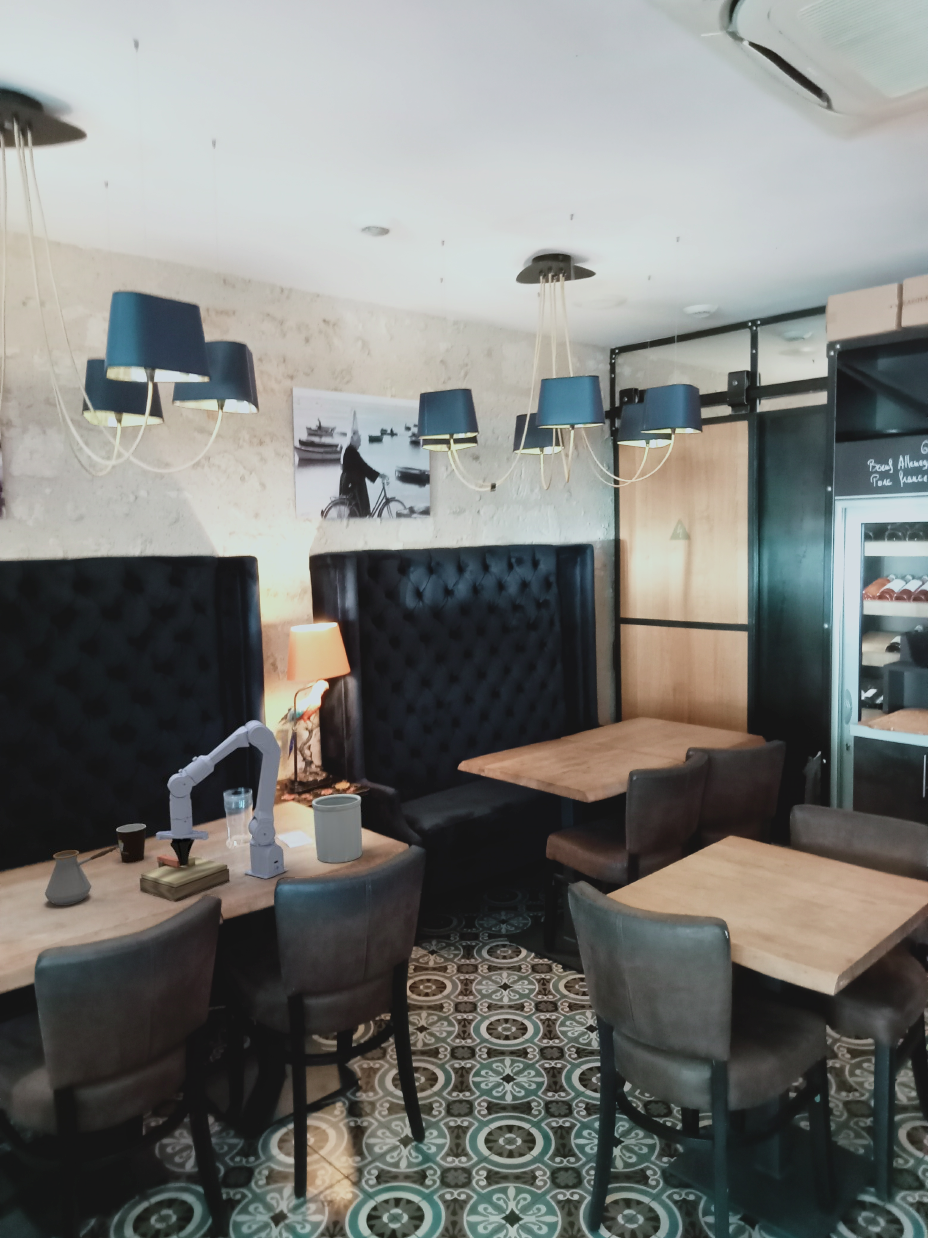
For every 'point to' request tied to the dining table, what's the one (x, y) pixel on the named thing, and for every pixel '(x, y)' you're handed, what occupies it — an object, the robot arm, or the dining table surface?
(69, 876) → the coffee pot
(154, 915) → the dining table surface
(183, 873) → the lid
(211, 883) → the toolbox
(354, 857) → the utensil holder
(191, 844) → the robot arm
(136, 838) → the coffee mug
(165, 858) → the pink bar
